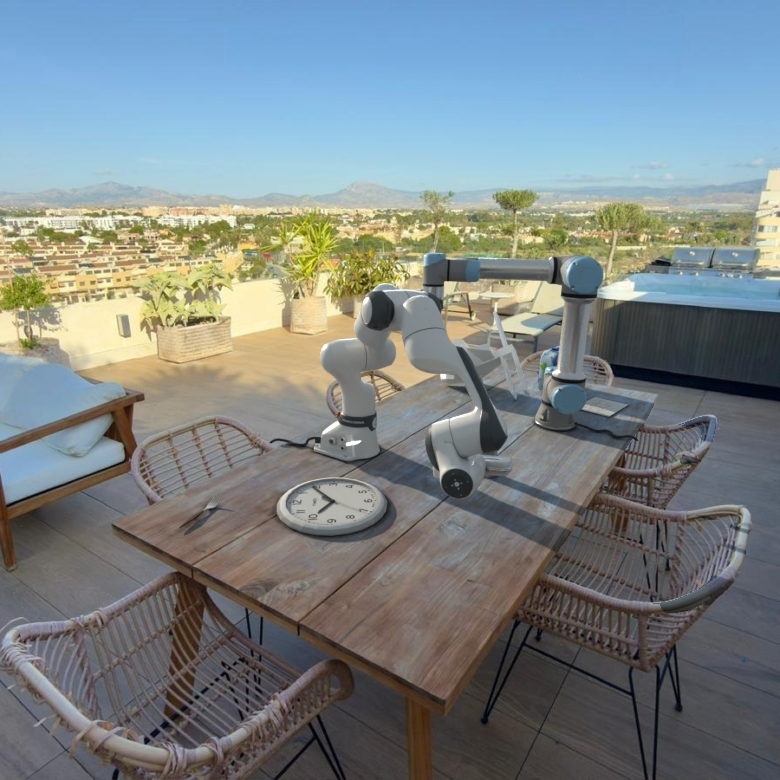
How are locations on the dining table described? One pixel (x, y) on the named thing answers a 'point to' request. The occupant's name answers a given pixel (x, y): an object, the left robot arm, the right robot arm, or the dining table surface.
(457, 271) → the right robot arm
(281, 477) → the dining table surface
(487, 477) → the jar
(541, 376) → the lunch box
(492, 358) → the white plastic object
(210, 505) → the fork
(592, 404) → the invitation card
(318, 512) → the wall clock
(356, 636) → the dining table surface
